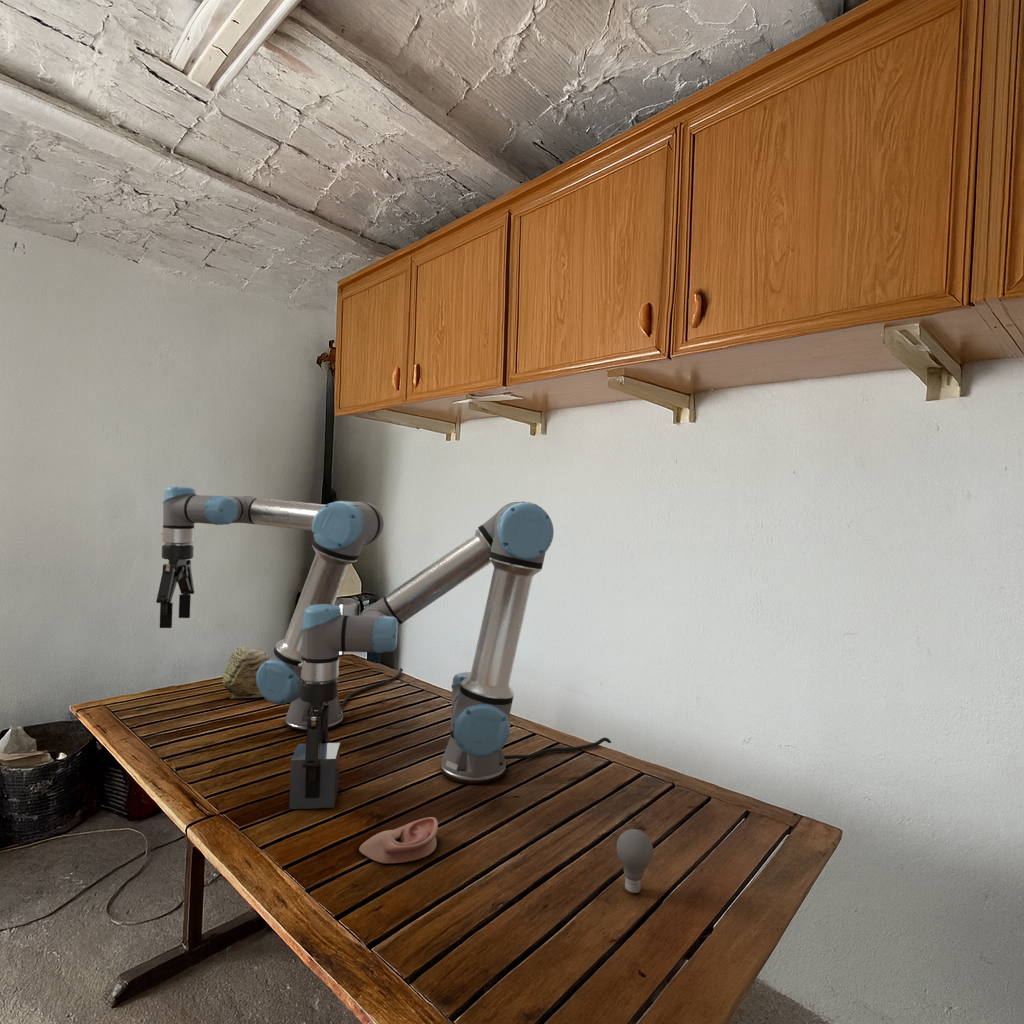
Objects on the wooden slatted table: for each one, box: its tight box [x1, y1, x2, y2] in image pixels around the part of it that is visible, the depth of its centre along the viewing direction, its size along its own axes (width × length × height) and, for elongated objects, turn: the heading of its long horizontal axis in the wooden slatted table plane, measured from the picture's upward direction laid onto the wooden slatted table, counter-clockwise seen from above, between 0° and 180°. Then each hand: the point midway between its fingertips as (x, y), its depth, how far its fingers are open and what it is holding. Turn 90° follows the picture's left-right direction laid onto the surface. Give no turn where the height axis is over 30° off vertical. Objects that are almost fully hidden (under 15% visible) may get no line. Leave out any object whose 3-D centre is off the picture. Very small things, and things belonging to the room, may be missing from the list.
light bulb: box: [615, 828, 654, 894], centre depth 106 cm, size 6×6×10 cm
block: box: [288, 742, 341, 810], centre depth 133 cm, size 8×9×10 cm
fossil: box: [222, 646, 271, 699], centre depth 198 cm, size 9×18×15 cm, turn 132°
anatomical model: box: [358, 816, 439, 864], centre depth 116 cm, size 13×4×12 cm
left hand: (175, 622), depth 171 cm, fingers open, 13 cm apart
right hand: (315, 786), depth 133 cm, fingers closed on block, 8 cm apart
